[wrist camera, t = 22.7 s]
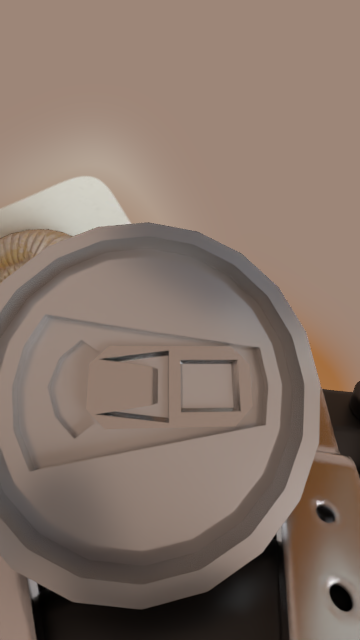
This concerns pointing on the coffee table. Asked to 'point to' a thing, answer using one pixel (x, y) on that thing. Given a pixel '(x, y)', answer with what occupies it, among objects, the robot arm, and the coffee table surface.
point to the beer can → (148, 415)
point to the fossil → (25, 248)
